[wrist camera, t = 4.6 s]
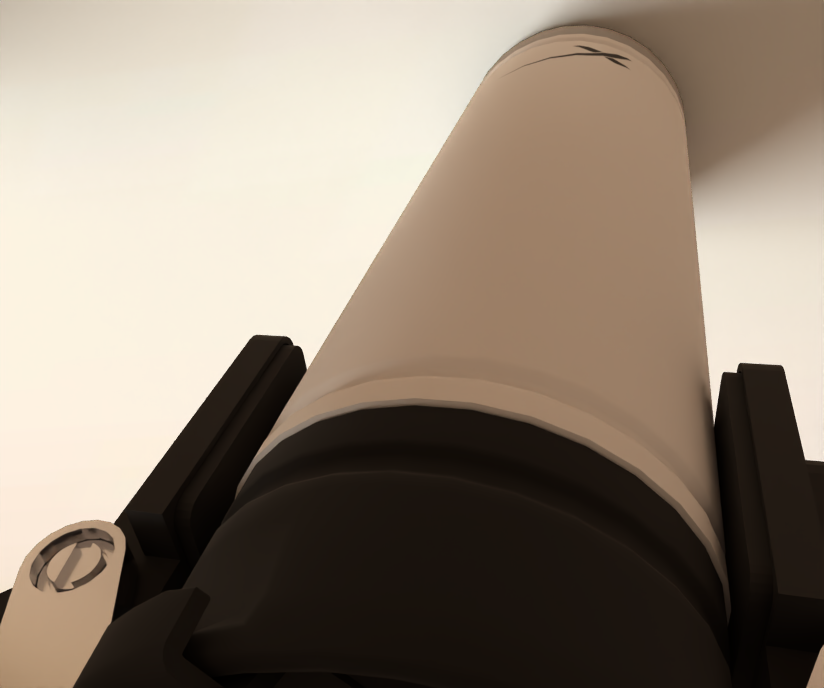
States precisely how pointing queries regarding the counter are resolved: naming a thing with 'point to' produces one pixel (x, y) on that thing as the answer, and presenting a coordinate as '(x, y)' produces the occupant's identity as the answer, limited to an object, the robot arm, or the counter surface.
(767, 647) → the robot arm
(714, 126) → the counter surface
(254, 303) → the counter surface
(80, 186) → the counter surface
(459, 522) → the travel mug
